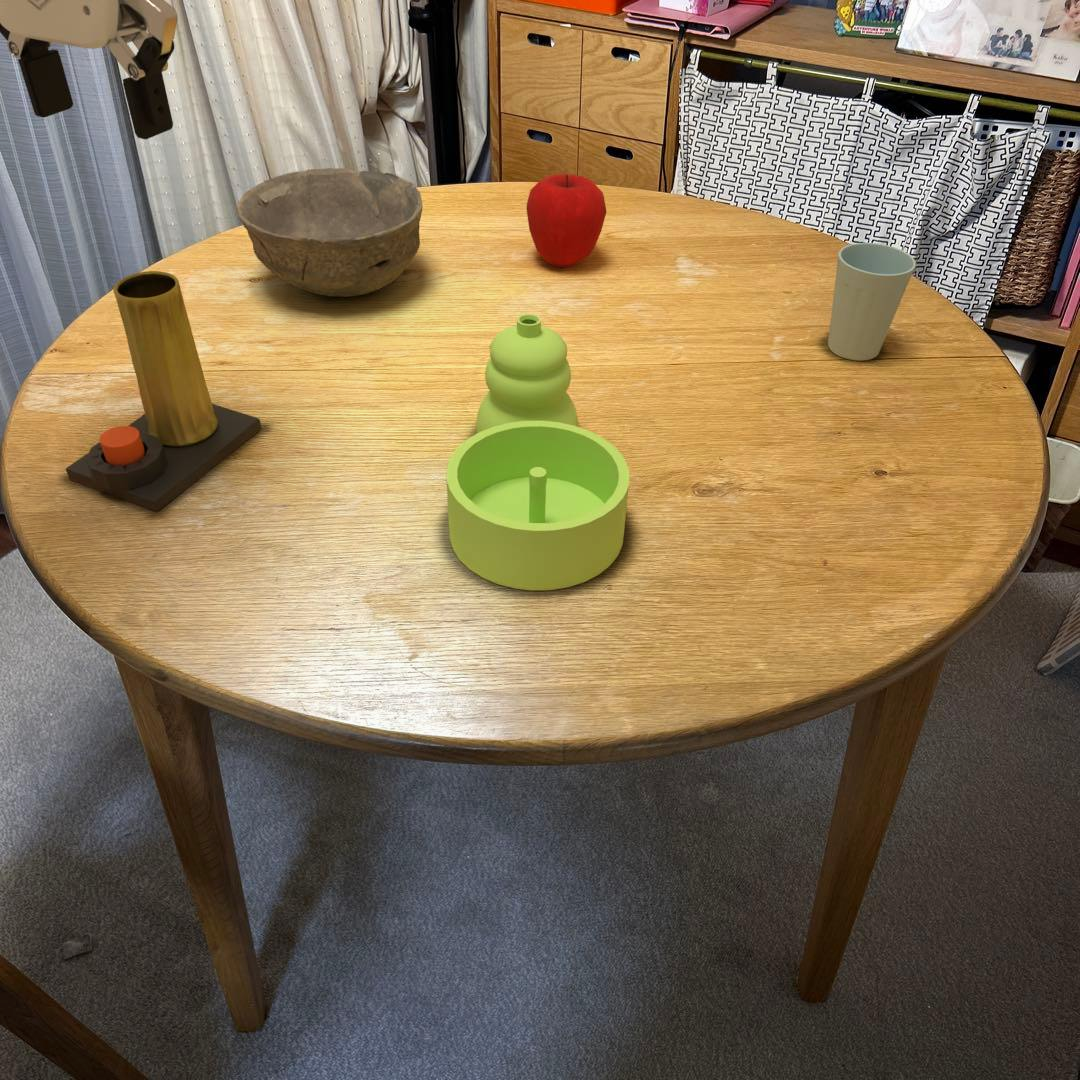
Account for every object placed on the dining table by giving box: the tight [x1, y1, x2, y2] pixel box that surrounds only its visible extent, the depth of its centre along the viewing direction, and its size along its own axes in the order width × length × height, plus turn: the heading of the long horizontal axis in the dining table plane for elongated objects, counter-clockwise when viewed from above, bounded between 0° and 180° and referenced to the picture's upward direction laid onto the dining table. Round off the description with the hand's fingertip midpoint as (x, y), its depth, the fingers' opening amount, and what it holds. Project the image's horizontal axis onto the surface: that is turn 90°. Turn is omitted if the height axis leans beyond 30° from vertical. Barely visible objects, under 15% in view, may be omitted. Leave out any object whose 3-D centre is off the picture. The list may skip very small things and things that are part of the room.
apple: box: [526, 173, 607, 268], centre depth 116 cm, size 10×10×11 cm
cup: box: [827, 242, 917, 362], centre depth 102 cm, size 8×8×10 cm
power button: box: [99, 425, 145, 465], centre depth 82 cm, size 3×3×2 cm
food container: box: [445, 313, 631, 592], centre depth 80 cm, size 25×15×13 cm, turn 4°
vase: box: [113, 270, 218, 447], centre depth 84 cm, size 6×6×14 cm
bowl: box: [236, 167, 424, 298], centre depth 111 cm, size 21×21×10 cm
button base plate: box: [65, 403, 262, 513], centre depth 86 cm, size 15×10×3 cm
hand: (104, 122), depth 71 cm, fingers open, 9 cm apart
